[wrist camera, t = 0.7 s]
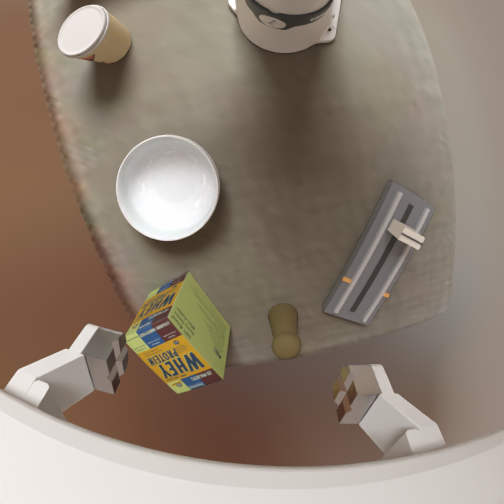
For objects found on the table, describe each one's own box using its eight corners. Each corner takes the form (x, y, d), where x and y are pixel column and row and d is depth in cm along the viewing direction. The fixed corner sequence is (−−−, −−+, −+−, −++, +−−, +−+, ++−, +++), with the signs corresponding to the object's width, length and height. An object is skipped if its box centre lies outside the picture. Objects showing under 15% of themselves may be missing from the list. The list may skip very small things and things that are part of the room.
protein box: (188, 269, 56) (167, 316, 42) (231, 326, 61) (225, 380, 47) (148, 291, 58) (121, 338, 44) (192, 343, 63) (178, 396, 49)
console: (388, 179, 48) (395, 182, 46) (430, 204, 50) (437, 208, 47) (322, 306, 59) (324, 314, 56) (365, 320, 60) (368, 328, 57)
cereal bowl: (191, 115, 45) (180, 113, 38) (242, 196, 50) (240, 207, 44) (115, 170, 49) (97, 177, 42) (164, 243, 54) (152, 259, 47)
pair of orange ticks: (343, 276, 54) (344, 277, 53) (389, 293, 55) (389, 294, 55) (341, 279, 54) (342, 280, 54) (387, 297, 55) (387, 297, 55)
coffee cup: (83, 54, 39) (47, 43, 28) (114, 16, 36) (83, -4, 25) (112, 76, 42) (77, 67, 30) (146, 36, 39) (118, 16, 28)
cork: (262, 320, 60) (263, 356, 50) (278, 298, 58) (282, 333, 48) (287, 331, 61) (291, 368, 51) (303, 311, 59) (311, 346, 49)
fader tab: (392, 217, 49) (405, 227, 44) (412, 228, 49) (425, 238, 45) (387, 229, 50) (398, 240, 45) (406, 239, 50) (419, 250, 45)
